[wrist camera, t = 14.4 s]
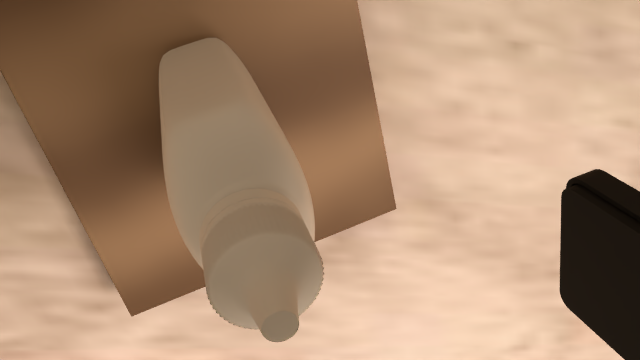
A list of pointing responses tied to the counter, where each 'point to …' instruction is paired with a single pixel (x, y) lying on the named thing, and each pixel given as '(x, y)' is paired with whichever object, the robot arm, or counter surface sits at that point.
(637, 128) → the counter surface
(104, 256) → the walnut block
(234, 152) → the grey tapered bottle shape
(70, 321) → the counter surface
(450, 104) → the counter surface
